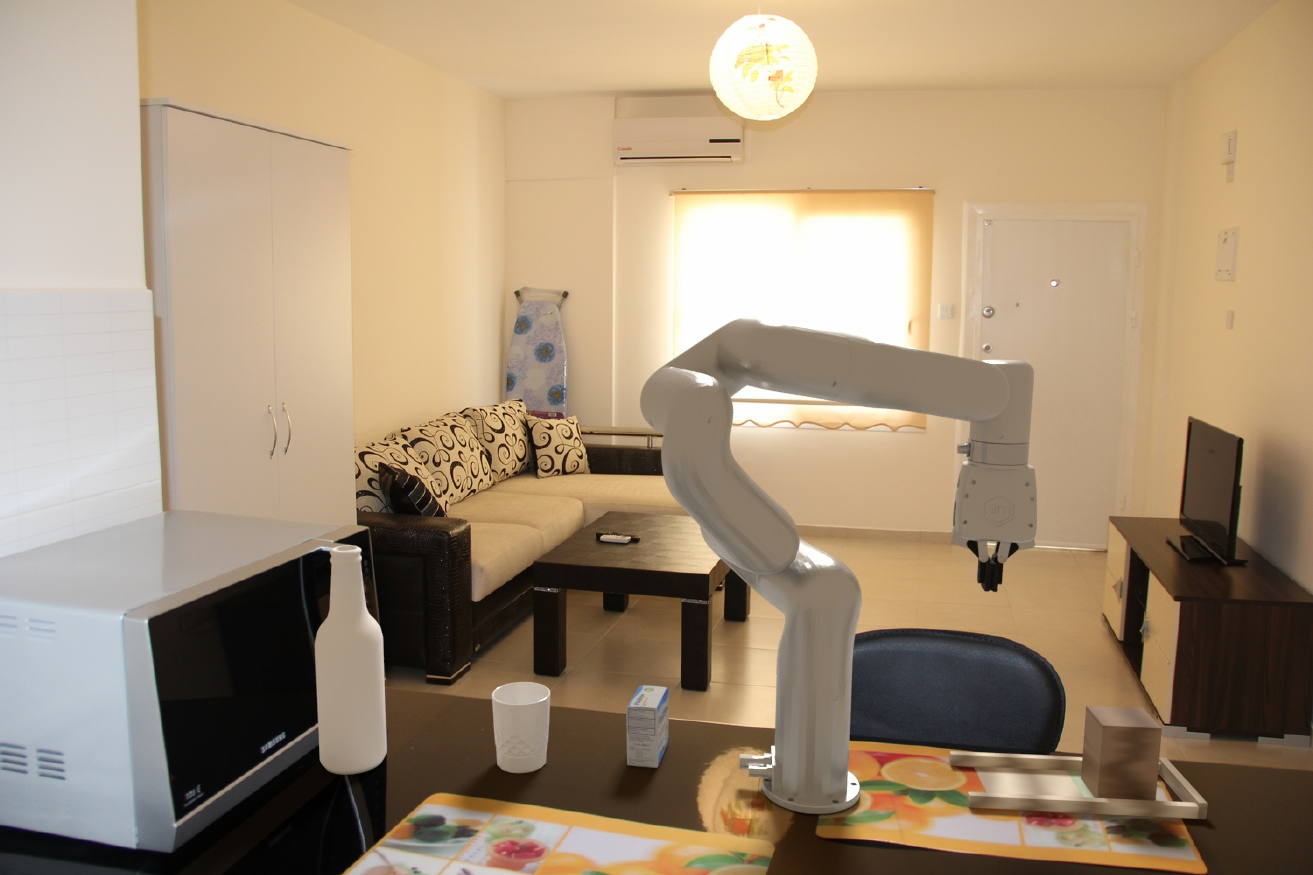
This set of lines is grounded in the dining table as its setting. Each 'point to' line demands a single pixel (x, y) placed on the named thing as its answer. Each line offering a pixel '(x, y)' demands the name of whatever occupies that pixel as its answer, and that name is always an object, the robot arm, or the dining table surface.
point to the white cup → (521, 726)
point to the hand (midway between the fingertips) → (988, 588)
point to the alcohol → (350, 673)
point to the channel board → (1065, 787)
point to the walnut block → (1120, 753)
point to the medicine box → (647, 726)
